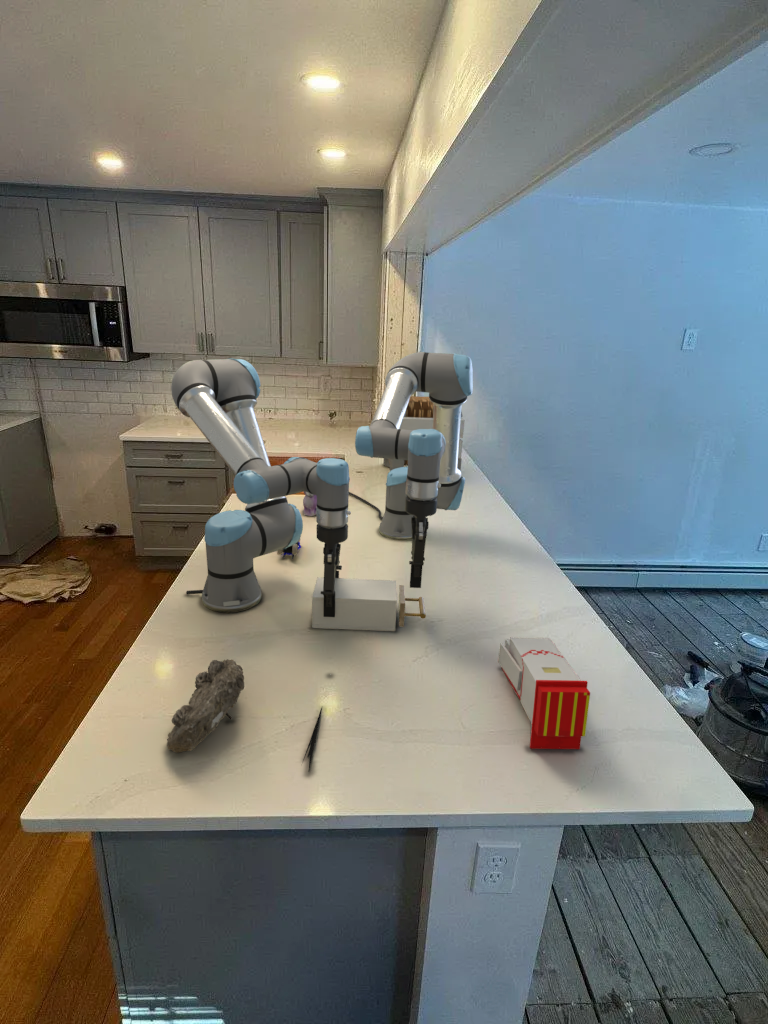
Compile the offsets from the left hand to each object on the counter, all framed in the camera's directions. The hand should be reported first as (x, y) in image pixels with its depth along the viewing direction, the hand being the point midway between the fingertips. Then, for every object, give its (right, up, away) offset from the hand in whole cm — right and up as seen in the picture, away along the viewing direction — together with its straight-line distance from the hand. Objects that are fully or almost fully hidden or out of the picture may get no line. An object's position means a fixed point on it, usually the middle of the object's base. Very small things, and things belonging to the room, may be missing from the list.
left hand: (331, 604), depth 143 cm
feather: (+1, -16, -35) cm, 38 cm away
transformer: (+31, +42, +132) cm, 142 cm away
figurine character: (-17, +10, +38) cm, 42 cm away
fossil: (-19, -16, -35) cm, 43 cm away
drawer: (+11, -3, +1) cm, 12 cm away
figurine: (-14, +23, +73) cm, 78 cm away
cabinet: (+6, -4, +1) cm, 7 cm away
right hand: (+21, +5, -2) cm, 22 cm away
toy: (+44, -16, -27) cm, 54 cm away
